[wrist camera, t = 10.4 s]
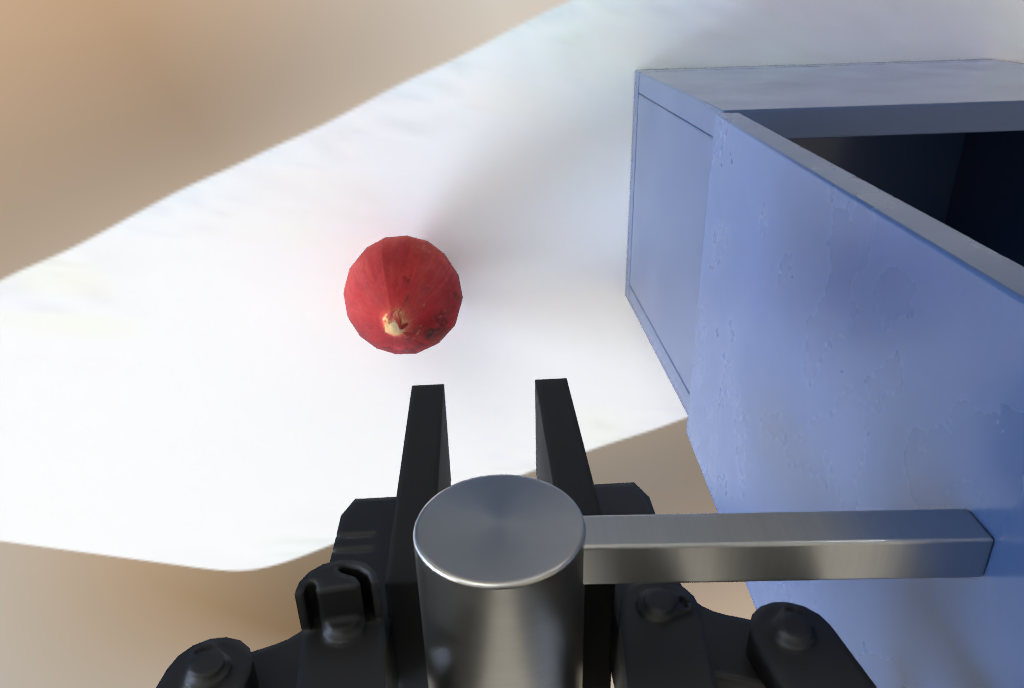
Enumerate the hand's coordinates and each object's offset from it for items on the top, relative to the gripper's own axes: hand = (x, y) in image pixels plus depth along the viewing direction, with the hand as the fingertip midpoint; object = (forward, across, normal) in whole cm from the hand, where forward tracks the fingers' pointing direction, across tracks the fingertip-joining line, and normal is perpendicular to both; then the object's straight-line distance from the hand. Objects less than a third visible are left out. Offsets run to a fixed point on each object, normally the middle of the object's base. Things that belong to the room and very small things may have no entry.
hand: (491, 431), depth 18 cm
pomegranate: (+23, -4, -4) cm, 24 cm away
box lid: (-1, +8, 0) cm, 8 cm away
